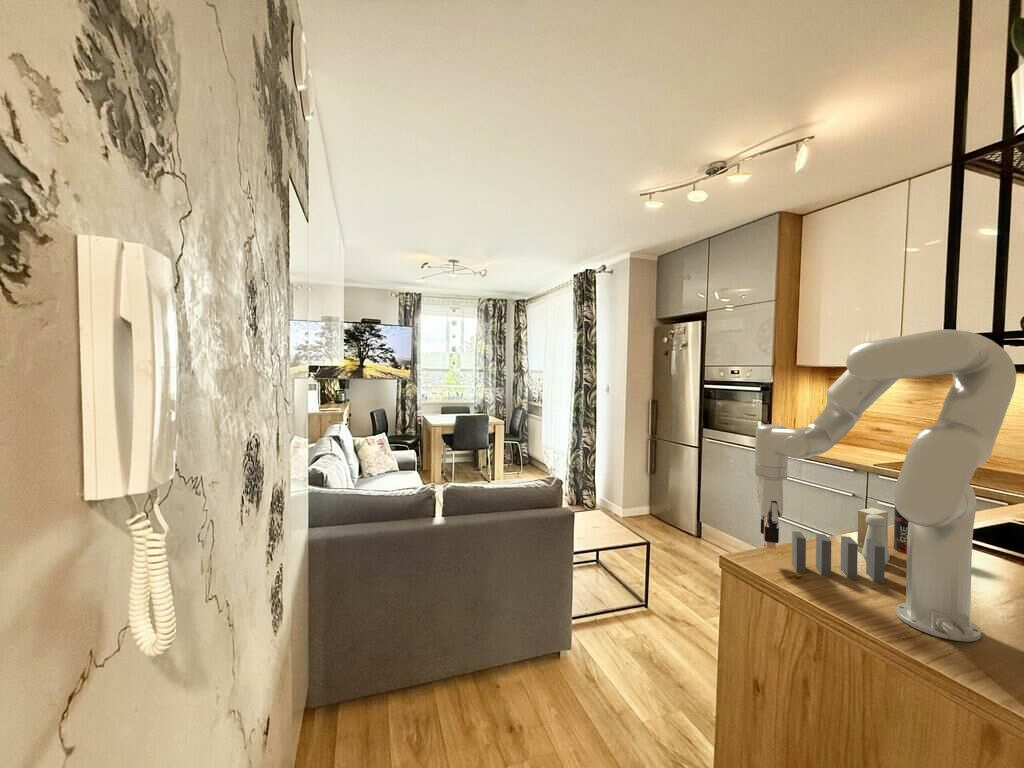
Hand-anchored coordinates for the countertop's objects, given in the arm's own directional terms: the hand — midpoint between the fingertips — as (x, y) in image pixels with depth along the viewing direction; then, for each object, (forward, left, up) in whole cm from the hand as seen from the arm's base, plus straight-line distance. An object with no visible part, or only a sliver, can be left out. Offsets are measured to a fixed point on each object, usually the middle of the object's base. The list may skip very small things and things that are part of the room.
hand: (769, 537), depth 119 cm
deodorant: (+23, -39, -8) cm, 46 cm away
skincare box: (+18, -29, -8) cm, 35 cm away
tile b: (0, -12, -7) cm, 14 cm away
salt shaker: (+10, -27, -8) cm, 30 cm away
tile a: (0, -7, -7) cm, 10 cm away
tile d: (0, -23, -7) cm, 24 cm away
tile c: (0, -18, -7) cm, 19 cm away
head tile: (0, 0, -2) cm, 2 cm away
